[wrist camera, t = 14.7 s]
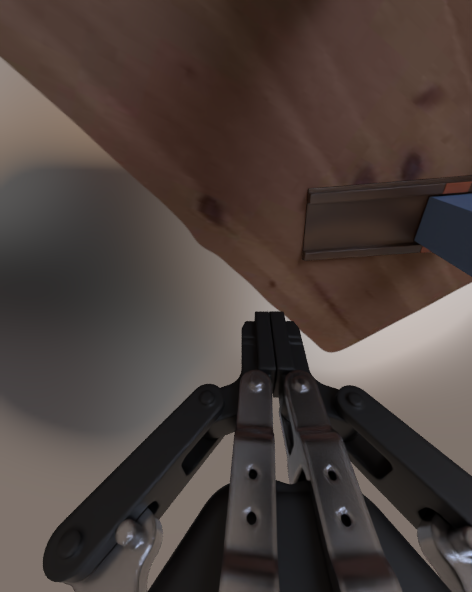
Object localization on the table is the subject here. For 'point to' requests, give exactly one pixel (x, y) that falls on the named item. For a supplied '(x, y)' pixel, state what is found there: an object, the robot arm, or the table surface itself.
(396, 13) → the table surface
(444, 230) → the block
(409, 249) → the track
